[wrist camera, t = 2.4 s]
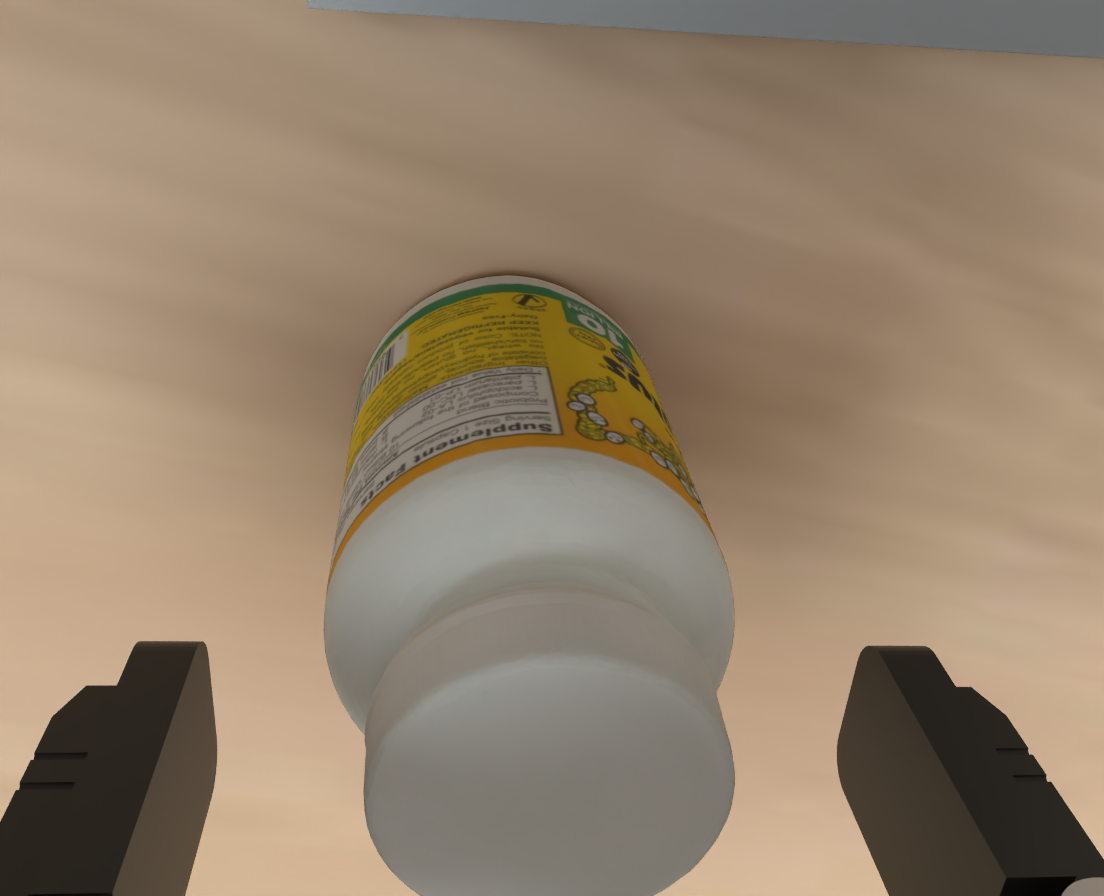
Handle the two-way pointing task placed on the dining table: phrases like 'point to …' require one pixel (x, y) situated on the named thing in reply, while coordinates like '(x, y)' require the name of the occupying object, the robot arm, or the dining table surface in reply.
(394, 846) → the supplement bottle
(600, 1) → the tray
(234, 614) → the dining table surface
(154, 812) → the robot arm
